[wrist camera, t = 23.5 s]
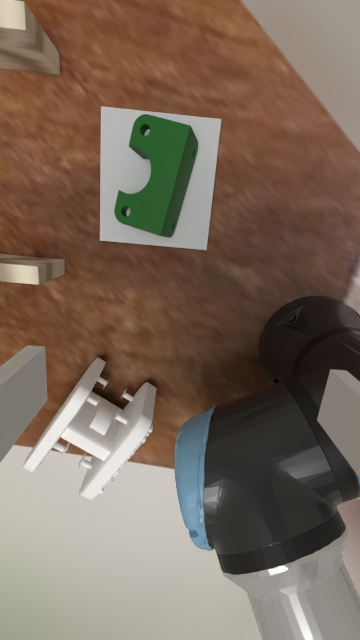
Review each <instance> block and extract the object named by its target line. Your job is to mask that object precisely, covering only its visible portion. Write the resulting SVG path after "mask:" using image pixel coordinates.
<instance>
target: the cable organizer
mask: <svg viewBox="0 0 360 640" xmlns="http://www.w3.org/2000/svg"><path fill="white" fill-rule="evenodd" d="M105 364H106V362H105V361H103V360H102V359H100V358H96V359H95V360H94V361H93V362H92V364H91V365H90V366H89V368H88V369H87V370H86V372H85V373H84V375H83V376H82V378H81V379H80V380H79V382H78V383H77V385H76V386H75V387H74V389H73V390H72V392H71V393H70V395H69V396H68V397H67V399H66V400H65V402H64V403H63V404H62V406H61V407H60V409H59V410H58V412H57V413H56V414H55V416H54V417H53V419H52V420H51V422H50V423H49V425H48V426H47V428H46V430H45V431H44V433H43V434H42V436H41V437H40V439H39V440H38V442H37V443H36V445H35V446H34V448H33V449H32V451H31V452H30V454H29V456H28V457H27V459H26V461H25V463H24V465H23V468H24V469H26V470H28V471H30V472H34V471H35V470H36V469H37V468H38V467H39V465H40V464H41V463H42V461H43V460H44V458H45V457H46V456H47V454H48V453H49V452H50V450H51V449H52V448H55V449H57V450H59V451H61V452H62V455H63V454H64V453H65V452H66V451H67V449H68V447H69V444H70V443H72V444H74V445H76V446H77V447H79V448H81V449H83V450H85V451H86V453H87V452H88V453H90V454H92V455H93V456H92V459H91V462H88V461H86V460H85V459H84V457H85V455H86V454H85V455H83V457H82V459H81V461H80V463H79V464H80V465H82V466H84V467H86V468H88V470H87V473H86V475H85V478H84V481H83V483H82V486H81V489H80V493H79V494H80V495H81V496H84V497H85V498H87V499H89V500H92V499H94V498H95V497H96V496H97V495H98V493H99V494H102V493H103V491H104V486H105V487H106V486H107V484H108V483H109V482H110V481H113V478H114V476H115V475H116V476H117V475H118V473H119V470H120V469H121V468H122V465H123V466H124V464H126V462H127V459H129V458H130V456H131V455H133V454H134V453H135V451H136V450H135V449H138V447H139V446H140V445H141V444H142V443H144V442H145V441H146V438H147V437H148V435H149V433H148V432H150V433H151V432H152V430H153V425H152V420H153V412H154V404H155V397H156V387H154V386H153V385H151V384H150V383H148V382H146V383H145V384H143V385H142V386H141V387H140V389H139V390H138V391H137V392H136V394H135V395H134V396H133V397H132V396H131V395H129V394H127V393H126V390H125V391H124V392H123V394H122V396H121V399H122V397H124V398H126V399H127V400H129V403H128V404H127V405H126V407H125V408H124V409H123V410H122V409H121V408H119V407H117V406H115V405H114V404H112V403H110V402H109V401H107V400H105V399H104V398H102V397H100V396H99V395H97V394H95V393H94V392H92V389H93V387H94V385H95V383H96V382H97V381H98V382H99V383H101V384H103V385H104V387H105V386H106V385H107V383H108V381H109V379H108V381H106V380H105V379H103V378H101V377H100V374H101V372H102V370H103V368H104V366H105ZM104 387H103V389H104ZM60 437H61V438H63V439H65V440H67V441H68V442H69V443H68V444H67V445H66V447H65V446H63V445H61V444H60V443H58V442H57V441H58V439H59V438H60ZM141 442H142V443H141ZM62 455H61V456H62Z"/></svg>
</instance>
